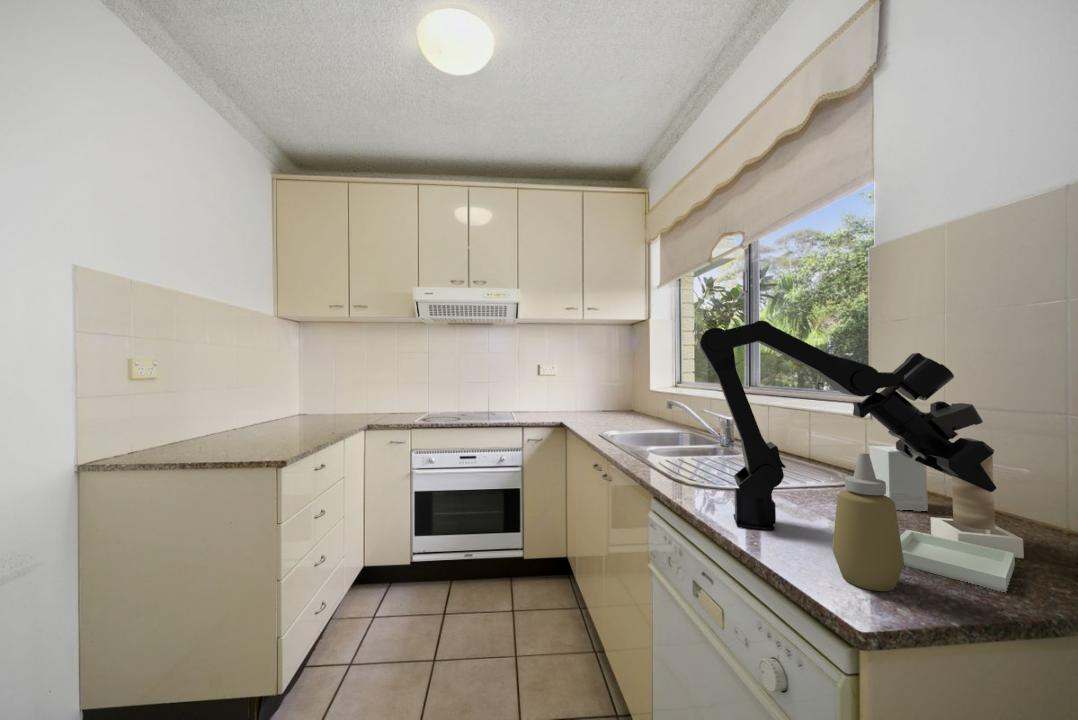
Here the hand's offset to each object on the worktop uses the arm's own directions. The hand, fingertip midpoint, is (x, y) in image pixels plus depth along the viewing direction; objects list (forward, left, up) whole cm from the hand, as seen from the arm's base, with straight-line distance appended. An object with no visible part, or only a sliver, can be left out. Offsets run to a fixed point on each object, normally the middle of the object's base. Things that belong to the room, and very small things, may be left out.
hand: (982, 486), depth 73 cm
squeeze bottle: (-24, -21, -10) cm, 33 cm away
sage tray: (-9, -10, -10) cm, 17 cm away
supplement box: (-3, +22, -10) cm, 25 cm away
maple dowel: (-1, 0, -7) cm, 7 cm away
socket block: (-1, 0, -10) cm, 10 cm away
